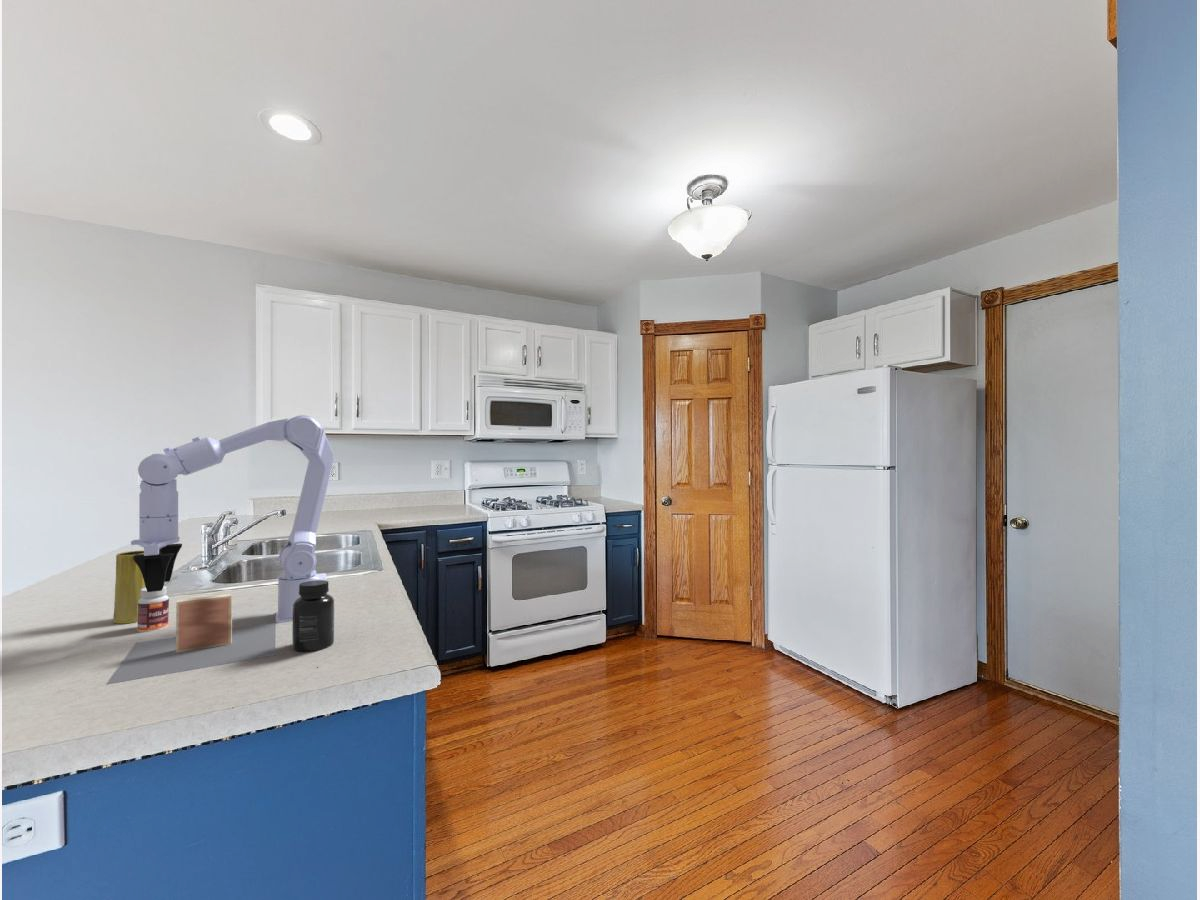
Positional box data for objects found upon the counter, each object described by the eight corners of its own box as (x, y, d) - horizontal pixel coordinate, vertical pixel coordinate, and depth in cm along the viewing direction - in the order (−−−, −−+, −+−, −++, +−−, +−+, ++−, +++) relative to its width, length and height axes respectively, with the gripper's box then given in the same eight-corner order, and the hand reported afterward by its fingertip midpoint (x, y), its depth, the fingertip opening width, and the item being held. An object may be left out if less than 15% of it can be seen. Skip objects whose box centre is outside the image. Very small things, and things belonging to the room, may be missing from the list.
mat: (275, 624, 108) (275, 622, 108) (275, 657, 91) (275, 655, 91) (136, 644, 96) (136, 642, 96) (106, 686, 79) (106, 684, 79)
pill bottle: (150, 634, 101) (150, 592, 101) (131, 632, 102) (131, 590, 102) (174, 626, 106) (175, 585, 106) (156, 624, 107) (156, 584, 107)
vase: (128, 615, 113) (129, 550, 113) (158, 614, 113) (159, 550, 113) (104, 624, 107) (105, 555, 107) (136, 624, 107) (136, 555, 107)
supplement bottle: (342, 643, 98) (343, 580, 98) (311, 656, 91) (312, 589, 91) (314, 638, 100) (315, 577, 100) (283, 651, 94) (283, 585, 94)
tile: (231, 641, 97) (232, 593, 97) (231, 644, 96) (231, 596, 96) (177, 649, 93) (177, 599, 93) (175, 653, 91) (176, 602, 91)
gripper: (140, 513, 103) (140, 580, 103) (121, 522, 91) (121, 598, 91) (185, 511, 107) (185, 576, 107) (172, 519, 95) (172, 592, 95)
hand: (159, 586), depth 99 cm, fingers open, 7 cm apart
